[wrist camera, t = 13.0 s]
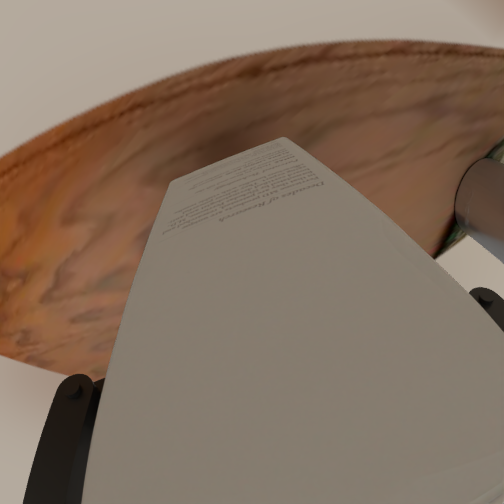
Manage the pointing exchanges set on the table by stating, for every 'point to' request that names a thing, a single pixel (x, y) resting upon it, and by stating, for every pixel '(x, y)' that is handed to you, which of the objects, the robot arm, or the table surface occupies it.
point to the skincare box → (295, 354)
